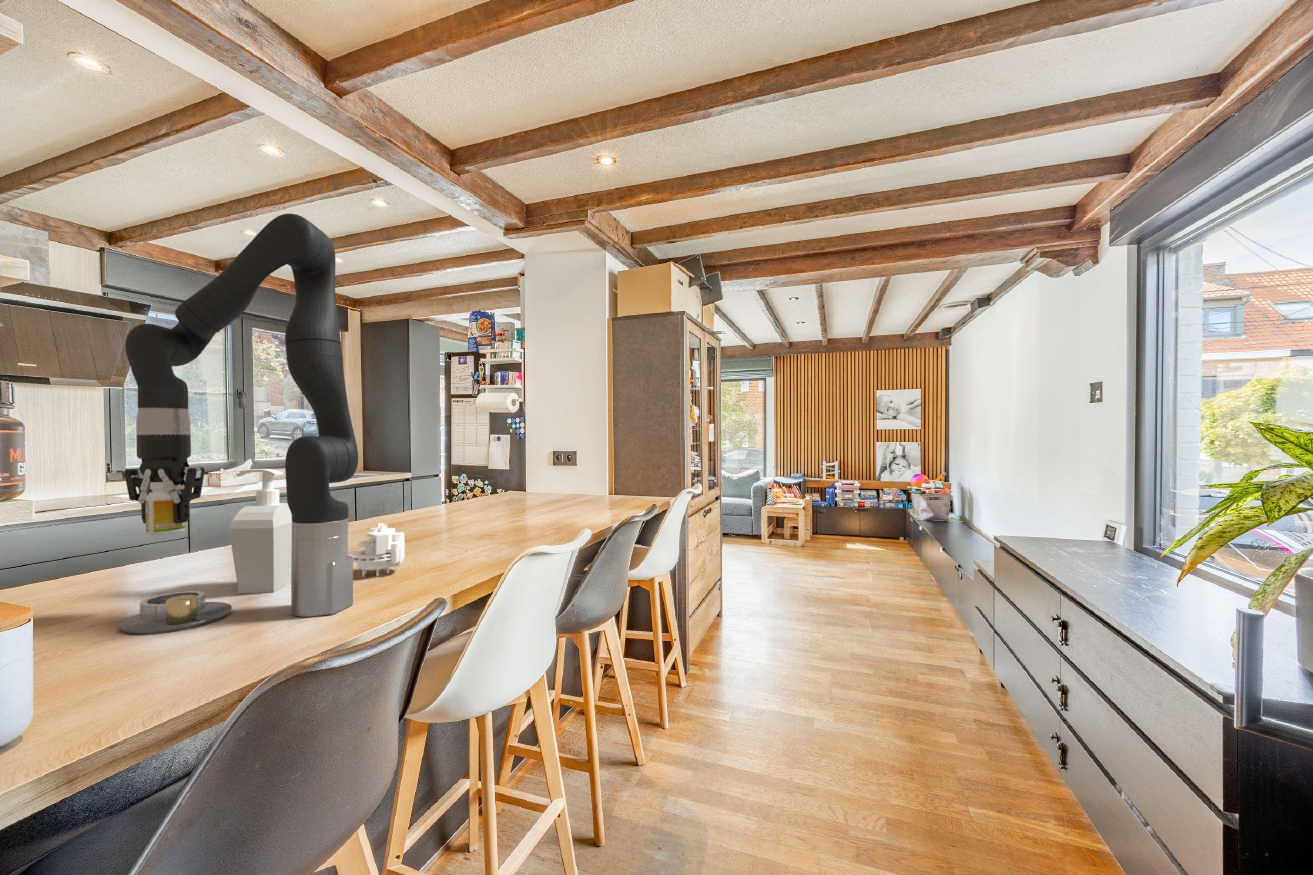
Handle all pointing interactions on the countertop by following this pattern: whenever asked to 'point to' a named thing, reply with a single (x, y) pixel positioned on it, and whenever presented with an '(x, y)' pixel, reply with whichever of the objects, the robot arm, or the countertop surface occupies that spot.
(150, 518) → the supplement bottle
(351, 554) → the mechanical part
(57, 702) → the countertop surface
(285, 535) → the soap bottle
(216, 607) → the carrier plate
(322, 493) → the robot arm
